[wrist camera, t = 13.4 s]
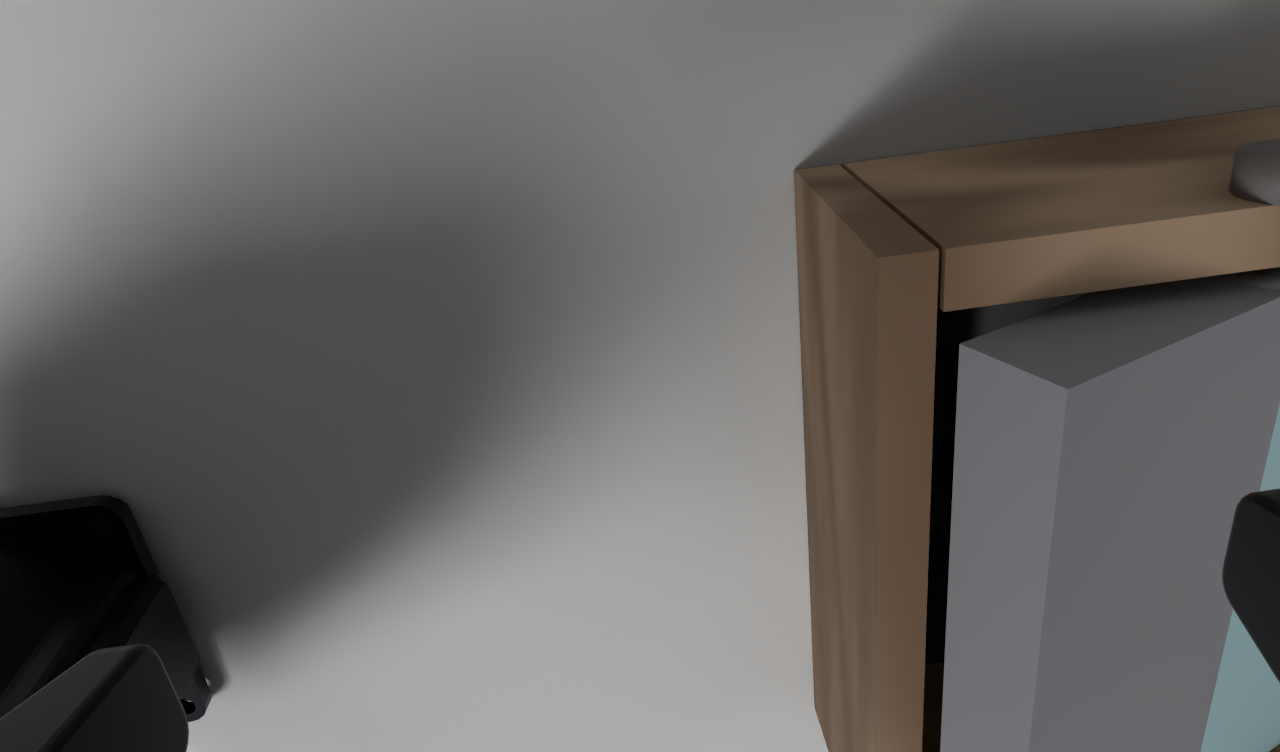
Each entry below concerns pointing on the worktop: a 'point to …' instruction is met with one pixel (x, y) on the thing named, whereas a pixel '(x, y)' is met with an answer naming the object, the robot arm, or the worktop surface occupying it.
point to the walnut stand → (906, 346)
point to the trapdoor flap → (1112, 523)
